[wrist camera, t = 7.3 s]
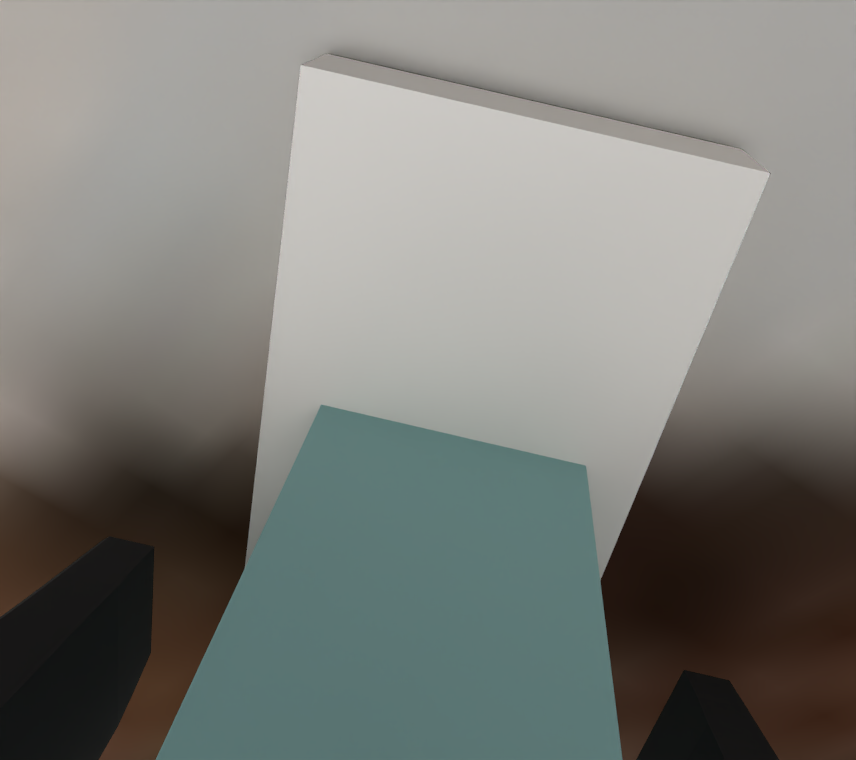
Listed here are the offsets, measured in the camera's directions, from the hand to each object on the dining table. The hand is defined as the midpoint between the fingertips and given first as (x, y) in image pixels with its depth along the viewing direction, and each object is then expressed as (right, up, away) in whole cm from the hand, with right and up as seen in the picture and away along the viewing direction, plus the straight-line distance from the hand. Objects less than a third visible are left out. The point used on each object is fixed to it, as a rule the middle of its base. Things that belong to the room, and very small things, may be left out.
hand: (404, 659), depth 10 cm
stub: (0, +1, +2) cm, 2 cm away
